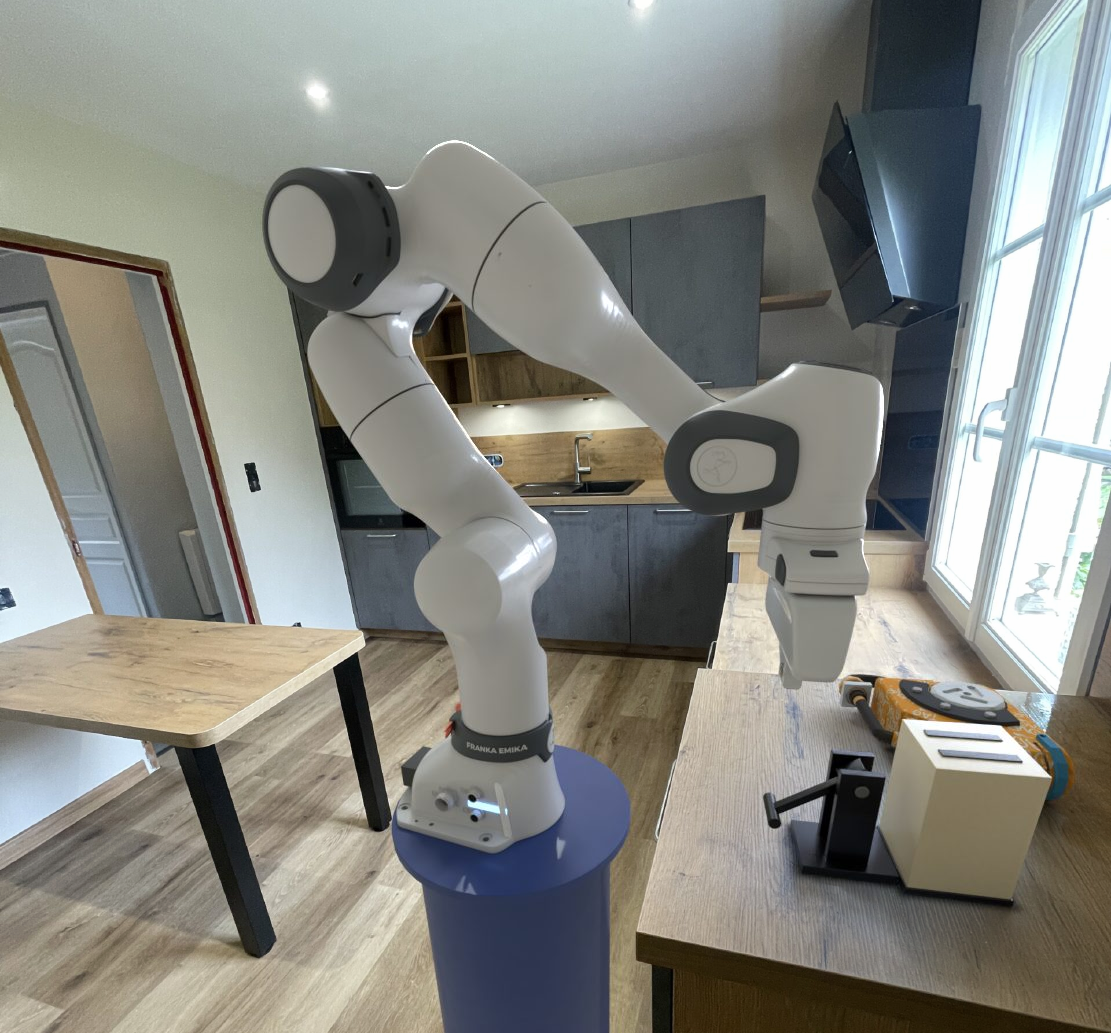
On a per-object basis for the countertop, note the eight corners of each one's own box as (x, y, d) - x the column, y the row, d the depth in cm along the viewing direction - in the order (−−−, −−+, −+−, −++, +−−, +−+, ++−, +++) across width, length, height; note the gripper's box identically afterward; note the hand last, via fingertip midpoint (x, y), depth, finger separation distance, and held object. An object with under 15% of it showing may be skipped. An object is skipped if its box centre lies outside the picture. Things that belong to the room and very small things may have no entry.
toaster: (904, 893, 63) (935, 768, 57) (875, 830, 72) (899, 716, 67) (1012, 907, 61) (1056, 778, 55) (968, 839, 70) (1002, 723, 64)
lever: (774, 833, 67) (763, 818, 66) (768, 806, 71) (758, 792, 71) (879, 793, 62) (868, 776, 62) (865, 766, 67) (855, 751, 66)
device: (892, 746, 75) (835, 655, 102) (881, 799, 78) (828, 696, 105) (1094, 760, 71) (979, 661, 98) (1074, 815, 74) (967, 704, 101)
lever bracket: (801, 873, 66) (816, 779, 61) (790, 827, 73) (802, 740, 69) (897, 885, 64) (920, 789, 59) (875, 836, 71) (894, 747, 67)
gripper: (759, 528, 65) (746, 643, 70) (791, 579, 46) (770, 730, 51) (820, 530, 63) (802, 646, 68) (877, 582, 45) (847, 736, 50)
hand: (789, 683), depth 60 cm, fingers closed
